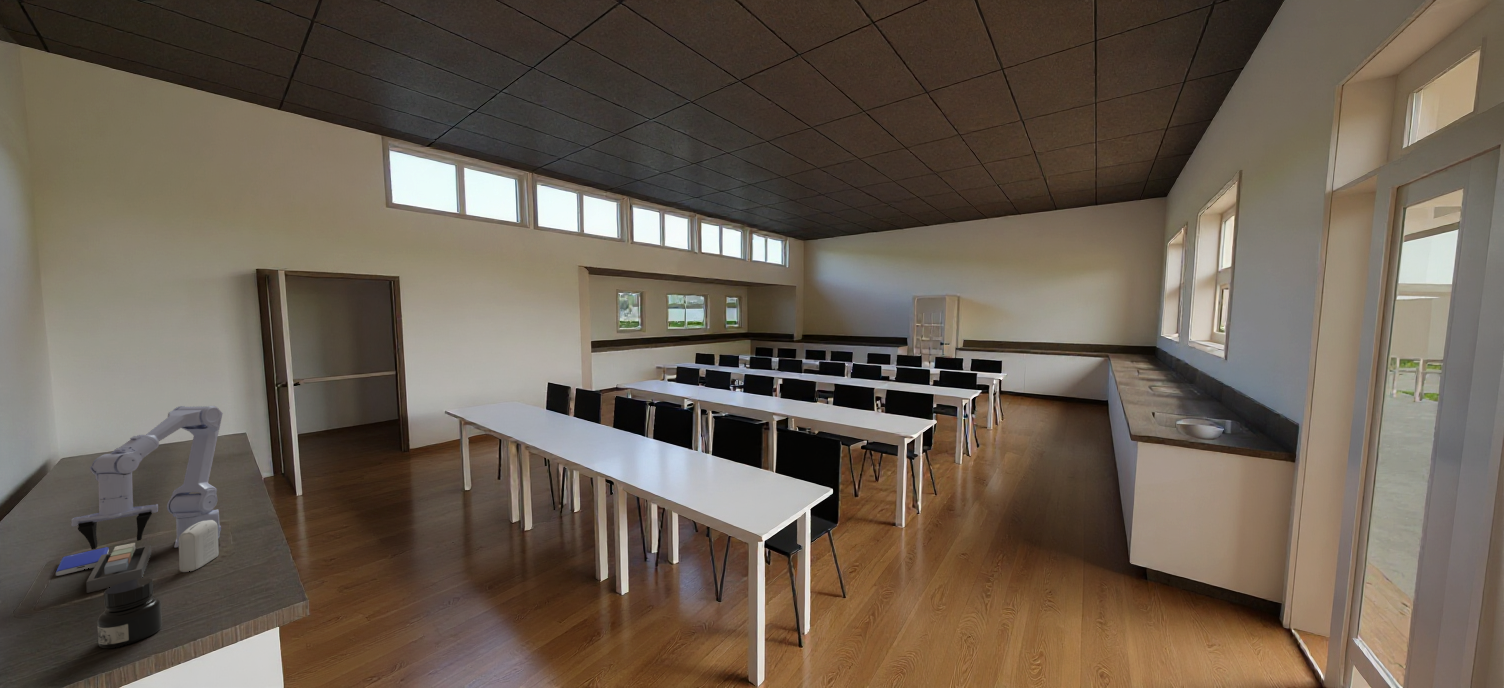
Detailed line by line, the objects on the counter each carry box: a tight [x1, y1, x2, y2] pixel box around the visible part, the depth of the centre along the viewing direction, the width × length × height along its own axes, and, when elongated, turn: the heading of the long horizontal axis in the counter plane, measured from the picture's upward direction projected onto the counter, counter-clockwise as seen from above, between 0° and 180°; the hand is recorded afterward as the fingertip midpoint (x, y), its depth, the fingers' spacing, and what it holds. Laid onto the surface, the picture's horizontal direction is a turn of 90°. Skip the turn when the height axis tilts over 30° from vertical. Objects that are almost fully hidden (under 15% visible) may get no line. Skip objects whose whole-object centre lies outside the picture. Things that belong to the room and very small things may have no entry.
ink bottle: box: [96, 577, 163, 649], centre depth 109 cm, size 10×9×12 cm
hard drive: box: [55, 546, 110, 576], centre depth 140 cm, size 2×8×12 cm
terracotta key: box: [107, 553, 131, 564], centre depth 134 cm, size 4×4×3 cm
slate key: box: [104, 558, 128, 575], centre depth 131 cm, size 4×4×3 cm
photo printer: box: [178, 520, 220, 573], centre depth 141 cm, size 10×4×12 cm, turn 20°
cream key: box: [112, 542, 136, 553], centre depth 141 cm, size 4×4×3 cm
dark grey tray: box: [85, 544, 152, 594], centre depth 136 cm, size 9×21×3 cm, turn 47°
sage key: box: [110, 548, 133, 558], centre depth 138 cm, size 4×4×3 cm
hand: (117, 543), depth 134 cm, fingers open, 7 cm apart
